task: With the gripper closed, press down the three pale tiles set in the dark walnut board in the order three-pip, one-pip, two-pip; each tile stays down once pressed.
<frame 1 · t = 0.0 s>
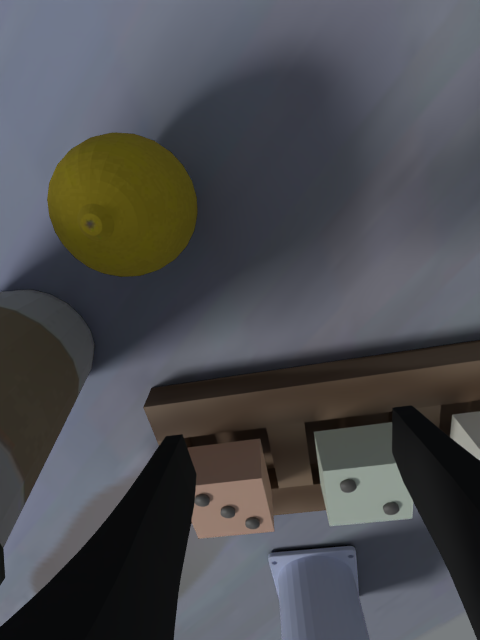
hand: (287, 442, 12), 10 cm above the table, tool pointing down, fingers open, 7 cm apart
board: (345, 428, 24), on the table
lemon: (155, 196, 18), on the table
tile three pip: (229, 489, 22), point 4 cm above the table, slide at 0.0 cm
tile two pip: (362, 475, 21), point 4 cm above the table, slide at 0.0 cm
coffee cup: (42, 338, 22), on the table
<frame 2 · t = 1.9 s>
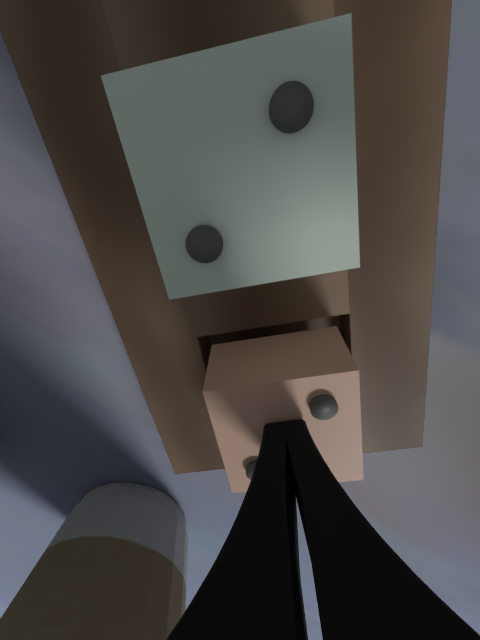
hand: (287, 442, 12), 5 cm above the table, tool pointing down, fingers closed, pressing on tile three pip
board: (246, 171, 12), on the table
tile three pip: (284, 411, 13), point 4 cm above the table, slide at 0.5 cm, touching gripper
tile two pip: (245, 178, 9), point 4 cm above the table, slide at 0.0 cm
coffee cup: (133, 515, 22), on the table
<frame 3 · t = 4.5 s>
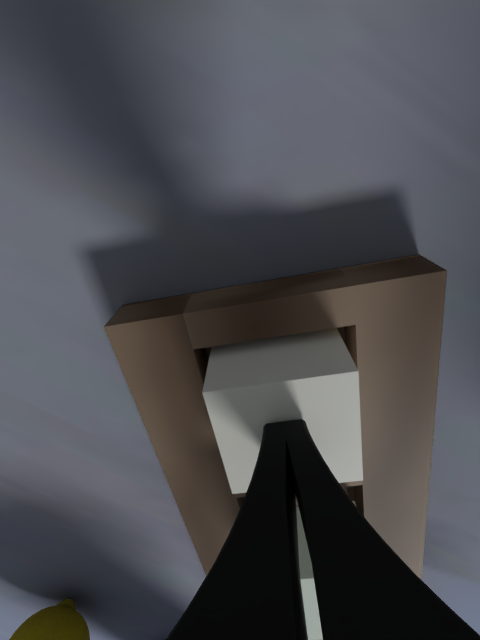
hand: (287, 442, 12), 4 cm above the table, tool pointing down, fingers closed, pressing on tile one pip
board: (299, 494, 19), on the table
lemon: (71, 596, 25), on the table
tile one pip: (284, 412, 13), point 3 cm above the table, slide at 1.4 cm, touching gripper
tile two pip: (311, 574, 15), point 4 cm above the table, slide at 0.0 cm
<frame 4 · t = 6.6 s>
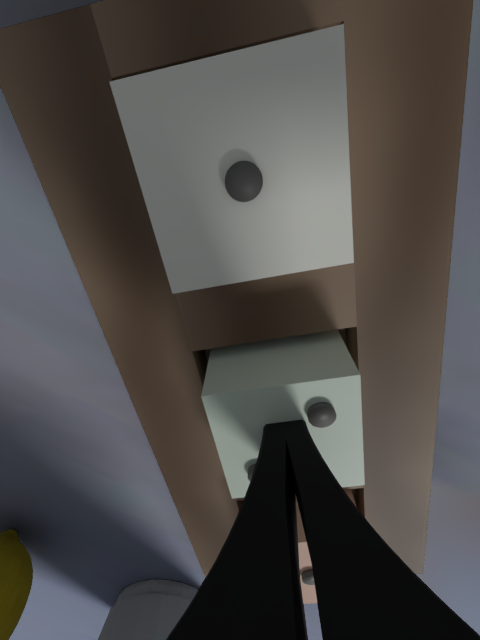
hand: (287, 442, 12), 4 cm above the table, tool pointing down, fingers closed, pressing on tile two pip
board: (279, 374, 15), on the table
lemon: (15, 527, 21), on the table
tile one pip: (244, 177, 9), point 2 cm above the table, slide at 1.5 cm
tile three pip: (306, 542, 17), point 2 cm above the table, slide at 1.5 cm
tile two pip: (284, 415, 13), point 3 cm above the table, slide at 1.3 cm, touching gripper
coffee cup: (166, 602, 25), on the table
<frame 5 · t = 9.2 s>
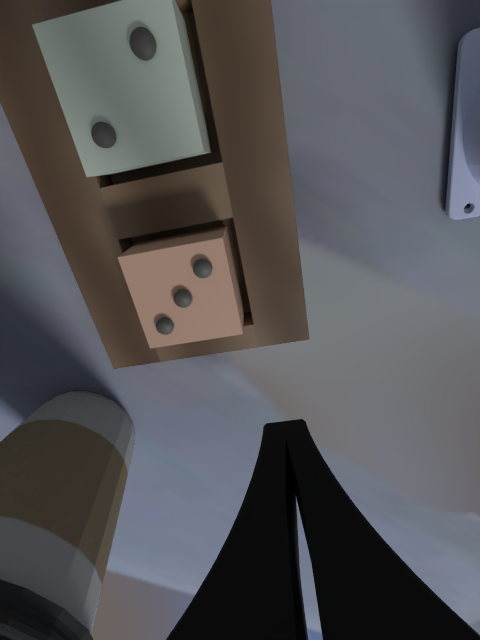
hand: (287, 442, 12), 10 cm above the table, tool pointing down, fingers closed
board: (151, 106, 16), on the table
tile three pip: (188, 287, 18), point 2 cm above the table, slide at 1.5 cm
tile two pip: (134, 98, 14), point 3 cm above the table, slide at 1.3 cm
coffee cup: (90, 425, 26), on the table
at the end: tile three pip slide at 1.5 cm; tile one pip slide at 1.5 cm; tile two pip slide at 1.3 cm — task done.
